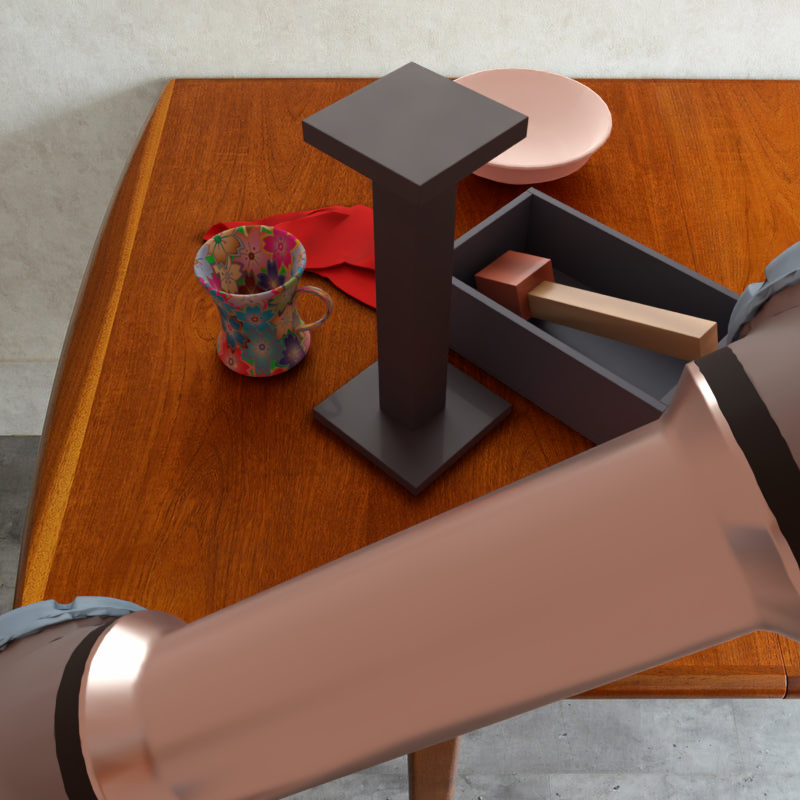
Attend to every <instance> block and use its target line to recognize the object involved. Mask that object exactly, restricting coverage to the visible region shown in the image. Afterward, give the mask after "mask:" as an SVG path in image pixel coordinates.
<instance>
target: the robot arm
mask: <svg viewBox="0 0 800 800" xmlns="http://www.w3.org/2000/svg"><path fill="white" fill-rule="evenodd" d="M764 275H765V280H764V281H762V282H752V283H750V284H748V285H747V286H746V287H745V289H744V290H743V291H742V293H741V294H740V295H741V296H740V298H739V299H738V301H737V303H736V305H735V307H734V309H733V312H732V314H731V318H730V322H729V326H728V338H727V345H726V346H725V347H723V348H721V349H719V350H716V351H714V352H712V353H710V354H707V355H705V356H703V357H701V358H698V359H696V360H694V361H692V362H690V363H687V364H686V365H685V367H684V370H683V372H682V374H681V377H680V379H679V382H678V384H677V386H676V389H675V391H674V394H673V396H672V398H671V401H670V403H669V406H668V408H667V409H666V410H665V412H664V413H663V414H662V415H661V417H660V418H659V419H658V420H656V421H654V422H651V423H649V424H647V425H644V426H642V427H640V428H637V429H635V430H633V431H631V432H628V433H626V434H624V435H621V436H619V437H617V438H614V439H612V440H610V441H608V442H605V443H603V444H601V445H596V446H594V447H592V448H589V449H587V450H585V451H583V452H580V453H578V454H576V455H573V456H571V457H568V458H566V459H563V460H562V461H559V462H557V463H555V464H553V465H550V466H547V467H545V468H543V469H541V470H538V471H536V472H534V473H531V474H529V475H527V476H525V477H523V478H520V479H518V480H516V481H513V482H511V483H509V484H506V485H504V486H502V487H500V488H497V489H494V490H493V491H490V492H488V493H485V494H484V495H481V496H478V497H477V498H474V499H471V500H469V501H467V502H465V503H463V504H460V505H457V506H455V507H453V508H451V509H449V510H447V511H444V512H442V513H439V514H437V515H435V516H433V517H430V518H428V519H426V520H424V521H421V522H419V523H417V524H414V525H412V526H410V527H406V528H405V529H403V530H400V531H398V532H396V533H394V534H391V535H389V536H387V537H384V538H382V539H380V540H377V541H375V542H373V543H371V544H368V545H366V546H364V547H361V548H359V549H357V550H354V551H352V552H350V553H347V554H344V555H343V556H340V557H338V558H336V559H334V560H331V561H329V562H327V563H324V564H322V565H320V566H318V567H315V568H312V569H311V570H308V571H306V572H304V573H303V572H302V573H301V574H299V575H296V576H294V577H292V578H290V579H287V580H285V581H283V582H280V583H279V584H276V585H273V586H272V587H269V588H267V589H265V590H262V591H260V592H257V593H255V594H253V595H251V596H248V597H246V598H244V599H242V600H241V599H240V600H239V601H237V602H234V603H232V604H230V605H228V606H226V607H223V608H220V609H219V610H216V611H214V612H212V613H209V614H207V615H204V616H202V617H199V618H198V619H195V620H193V621H191V622H187V621H185V620H183V619H182V618H180V617H178V616H177V615H174V614H172V613H169V612H166V611H163V610H155V609H147V608H145V607H144V606H141V605H139V604H138V603H137V604H136V603H135V602H132V601H129V600H125V599H120V598H115V597H110V596H109V597H108V596H100V595H99V596H95V595H79V596H78V595H77V596H76V597H75V598H74V599H73V600H72V602H70V603H66V604H63V603H58V602H57V600H55V599H53V598H51V599H46V600H41V601H37V602H33V603H30V604H27V605H23V606H20V607H17V608H15V609H12V610H9V611H7V612H5V613H3V614H1V615H0V800H283V799H285V798H288V797H291V796H294V795H297V794H299V793H302V792H305V791H308V790H311V789H315V788H316V787H319V786H322V785H325V784H328V783H330V782H334V781H336V780H339V779H342V778H344V777H347V776H351V775H353V774H356V773H359V772H361V771H364V770H367V769H370V768H373V767H376V766H378V765H382V764H384V763H387V762H389V761H393V760H395V759H399V758H401V757H404V756H408V755H409V754H413V753H415V752H418V751H421V750H424V749H427V748H429V747H433V746H435V745H439V744H441V743H443V742H447V741H450V740H452V739H456V738H458V737H460V736H464V735H467V734H470V733H473V732H475V731H477V730H478V731H479V730H481V729H483V728H486V727H489V726H492V725H495V724H497V723H501V722H503V721H505V720H509V719H512V718H514V717H517V716H520V715H523V714H526V713H528V712H531V711H535V710H537V709H541V708H543V707H546V706H548V705H551V704H554V703H557V702H559V701H563V700H566V699H569V698H571V697H574V696H576V695H579V694H583V693H585V692H588V691H591V690H593V689H596V688H599V687H602V686H605V685H608V684H611V683H615V682H617V681H619V680H622V679H624V678H628V677H630V676H633V675H636V674H639V673H641V672H645V671H647V670H648V671H649V670H650V669H653V668H656V667H659V666H662V665H665V664H667V663H671V662H673V661H676V660H679V659H681V658H685V657H688V656H690V655H693V654H696V653H698V652H702V651H704V650H707V649H710V648H713V647H715V646H719V645H721V644H724V643H728V642H729V641H732V640H735V639H738V638H741V637H744V636H746V635H750V634H753V633H755V632H758V631H759V632H766V633H773V634H777V635H779V636H782V637H783V638H786V639H789V640H792V641H793V642H796V643H798V644H800V240H798V241H796V242H795V243H794V244H792V245H790V246H789V247H787V248H786V249H784V250H783V252H780V254H779V255H777V256H776V257H774V259H772V260H771V261H770V262H769V263H768V264H767V265H766V266H765V268H764Z"/></svg>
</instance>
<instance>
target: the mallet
mask: <svg viewBox="0 0 800 800" xmlns="http://www.w3.org/2000/svg"><path fill="white" fill-rule="evenodd" d="M475 280H476V285H477V290H478V292H480V293H481V294H483V295H485V296H486V297H488V298H489V299H491V300H493V301H494V302H496V303H498V304H499V305H501V306H503V307H504V308H506V309H508V310H509V311H511V312H513V313H514V314H516V315H518V316H519V317H521V318H522V319H524V320H526V321H527V320H529V319H530V318H531V317H534V318H537V319H541V320H544V321H548V322H552V323H555V324H559V325H562V326H566V327H569V328H573V329H576V330H580V331H583V332H587V333H591V334H594V335H598V336H601V337H605V338H608V339H612V340H615V341H619V342H622V343H626V344H630V345H633V346H637V347H640V348H644V349H647V350H651V351H654V352H658V353H661V354H665V355H669V356H672V357H676V358H679V359H683V360H686V361H690V362H692V361H694V360H696V359H698V358H701V357H703V356H705V355H707V354H710V353H712V352H714V351H716V350H717V349H718V336H717V322H713V321H709V320H705V319H701V318H697V317H693V316H689V315H684V314H680V313H676V312H672V311H668V310H664V309H660V308H656V307H651V306H647V305H643V304H639V303H635V302H631V301H627V300H623V299H619V298H614V297H610V296H606V295H602V294H598V293H594V292H590V291H586V290H582V289H577V288H573V287H569V286H565V285H561V284H557V283H555V282H554V276H553V270H552V263H551V259H547V258H542V257H538V256H533V255H528V254H524V253H519V252H515V251H510V250H509V251H507V252H506V253H505V254H503V255H502V256H500V257H499V258H498V259H496V260H495V261H494V262H492V263H491V264H489V265H488V266H487V267H485V268H484V269H482V270H481V271H480V272H478V273H477V274H476V275H475Z"/></svg>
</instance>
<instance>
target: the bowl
mask: <svg viewBox="0 0 800 800" xmlns="http://www.w3.org/2000/svg"><path fill="white" fill-rule="evenodd" d="M453 81H454V82H456V83H459V84H461V85H463V86H465V87H467V88H469V89H471V90H473V91H475V92H478V93H480V94H482V95H484V96H486V97H488V98H490V99H492V100H495V101H497V102H499V103H501V104H503V105H505V106H507V107H509V108H511V109H514V110H516V111H518V112H520V113H522V114H524V115H526V116H528V117H529V120H528V129H527V137H526V138H525V139H523V140H522V141H520V142H519V143H517V144H515V145H514V146H512V147H511V148H509V149H508V150H506V151H505V152H503V153H502V154H500V155H499V156H497V157H496V158H494V159H493V160H491V161H489V162H488V163H486V164H485V165H483V166H482V167H480V168H479V169H477V170H476V171H474V172H473V173H472V174H474V175H476V176H477V177H481V178H484V179H486V180H491V181H494V182H497V183H500V184H501V183H502V184H507V185H520V186H521V185H533V184H540V183H546V182H553V181H556V180H558V179H561V178H564V177H567V176H570V175H571V174H573V173H574V172H577V171H579V170H580V169H581V168H582V167H583V166H584V165H586V164H587V163H588V161H589V160H590V159H591V157H592V156H593V154H595V153H596V152H597V151H598V150H599V149H600V148H602V147H603V146H604V145H605V143H606V142H607V140H608V139H609V137H610V136H611V133H612V130H613V120H612V119H613V116H612V113H611V111H610V109H609V107H608V104H607V103H606V102H605V101H604V100H603V99H602V97H601V96H600V95H599V94H597V92H595V91H593V90H592V89H591V88H590V87H589V86H587V85H585V84H584V83H581V82H579V81H577V80H575V79H573V78H570V77H568V76H566V75H562V74H559V73H555V72H551V71H548V70H542V69H541V70H540V69H534V68H526V67H525V68H524V67H502V68H500V67H499V68H491V69H483V70H478V71H476V72H471V73H468V74H465V75H463V76H460V77H459V78H456V79H454V80H453Z"/></svg>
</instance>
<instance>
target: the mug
mask: <svg viewBox="0 0 800 800" xmlns="http://www.w3.org/2000/svg"><path fill="white" fill-rule="evenodd" d="M305 266H306V252H305V249H304V247H303V245H302V244H301V242H300V241H299V240H298V239H297V238H296V237H294V236H293V235H292V234H290V233H288V232H286V231H284V230H282V229H279V228H275V227H271V226H264V225H248V226H241V227H236V228H232V229H229V230H226V231H224V232H221V233H219V234H217V235H216V236H214V237H212V238H211V239H209V240H208V241H206V242H204V243H203V244H202V245H201V247H200V248H199V250H198V251H197V253H196V255H195V257H194V261H193V272H194V276H195V278H196V280H197V282H198V283H199V284H200V285H201V287H202V288H203V289H204V290H205V291H206V292H207V293H208V294H209V296H210V297H211V298H212V300H213V302H214V304H215V306H216V309H217V310H218V313H219V317H220V332H219V334H218V336H217V340H216V352H217V356H218V357H219V359H220V360H221V362H222V363H223V364H224V366H226V367H227V368H228V369H230V370H232V371H233V372H235V373H236V374H240V375H243V376H245V377H252V378H265V377H266V378H267V377H272V376H277V375H280V374H283V373H285V372H288V371H290V370H291V369H293V368H294V367H295V366H297V365H298V364H299V363H300V362H301V361H302V360H303V359H304V358H305V356H306V355H307V353H308V352H309V349H310V346H311V333H310V331H312V330H315V329H318V328H319V327H321V326H323V325H324V324H325V323H326V322H327V321H328V320H329V319H330V317H331V316H332V314H333V311H334V302H333V299H332V297H331V296H330V295H329V294H328V293H327V292H326V291H325V290H324V289H321V288H320V287H317V286H312V285H303V286H301V287H299V284H300V280H301V278H302V276H303V273H304V271H305V270H304V269H305ZM298 287H299V288H298ZM302 294H311V295H314V296H316V297H318V298H320V299H321V300H322V301H323V302H324V304H325V305H326V309H327V310H326V313H325V315H324V316H322V317H321V318H320V319H319V320H316V321H314V322H310V323H306V322H305V321H304V320H302V318H301V317H300V314H299V311H298V307H297V306H298V305H297V301H298V299H299V296H300V295H302Z"/></svg>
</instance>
